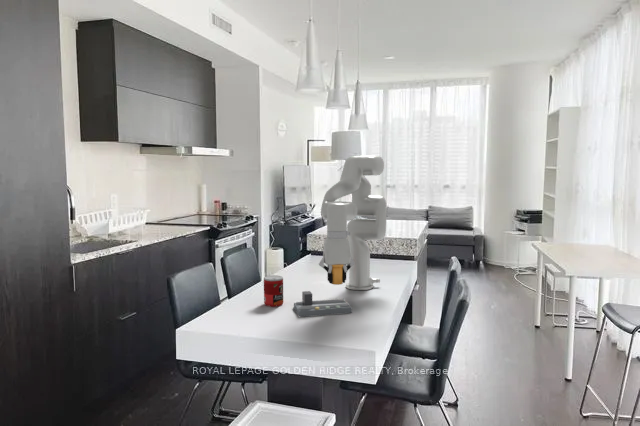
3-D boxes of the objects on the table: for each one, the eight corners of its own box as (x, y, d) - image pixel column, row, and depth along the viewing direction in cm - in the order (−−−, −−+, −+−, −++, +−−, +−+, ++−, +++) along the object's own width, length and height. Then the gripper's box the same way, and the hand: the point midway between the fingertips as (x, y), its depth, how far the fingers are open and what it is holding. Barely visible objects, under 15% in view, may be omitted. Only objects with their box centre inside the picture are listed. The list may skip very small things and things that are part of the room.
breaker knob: (310, 303, 179) (309, 291, 179) (312, 306, 175) (312, 293, 175) (302, 304, 179) (302, 291, 178) (304, 307, 174) (304, 294, 174)
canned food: (275, 307, 182) (275, 280, 181) (260, 305, 186) (259, 278, 185) (287, 303, 188) (287, 276, 187) (271, 300, 193) (271, 274, 192)
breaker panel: (342, 304, 186) (342, 296, 186) (351, 312, 175) (351, 304, 175) (293, 307, 182) (293, 300, 182) (299, 316, 170) (299, 308, 170)
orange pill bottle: (341, 281, 182) (341, 262, 181) (345, 284, 177) (345, 264, 176) (328, 282, 181) (328, 262, 180) (332, 285, 175) (332, 265, 175)
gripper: (355, 233, 183) (354, 279, 184) (313, 234, 179) (313, 281, 180) (361, 235, 176) (360, 283, 177) (317, 237, 172) (317, 285, 173)
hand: (336, 281), depth 179 cm, fingers closed on orange pill bottle, 4 cm apart
